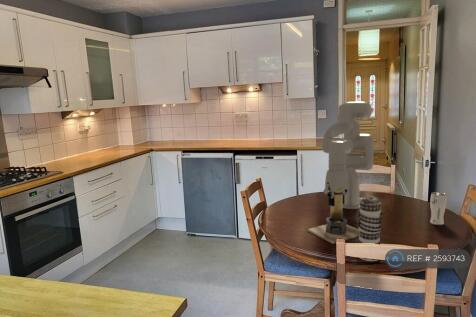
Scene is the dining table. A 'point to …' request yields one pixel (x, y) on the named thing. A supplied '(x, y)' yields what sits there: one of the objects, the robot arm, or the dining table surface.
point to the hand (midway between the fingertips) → (336, 204)
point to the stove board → (332, 238)
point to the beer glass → (437, 207)
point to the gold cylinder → (337, 205)
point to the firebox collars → (336, 226)
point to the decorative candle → (369, 221)
